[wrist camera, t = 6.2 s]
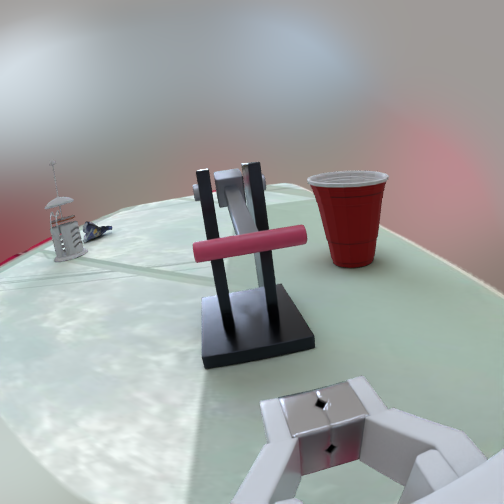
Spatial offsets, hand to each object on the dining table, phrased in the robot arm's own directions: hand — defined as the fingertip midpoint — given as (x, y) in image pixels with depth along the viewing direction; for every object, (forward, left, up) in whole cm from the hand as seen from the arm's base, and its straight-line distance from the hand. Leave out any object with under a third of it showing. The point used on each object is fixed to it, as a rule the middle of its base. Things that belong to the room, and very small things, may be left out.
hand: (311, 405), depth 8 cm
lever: (+14, +8, +2) cm, 16 cm away
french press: (+40, +69, -9) cm, 81 cm away
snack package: (+59, +80, -9) cm, 100 cm away
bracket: (+18, +10, -8) cm, 22 cm away
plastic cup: (+36, +2, -9) cm, 37 cm away
